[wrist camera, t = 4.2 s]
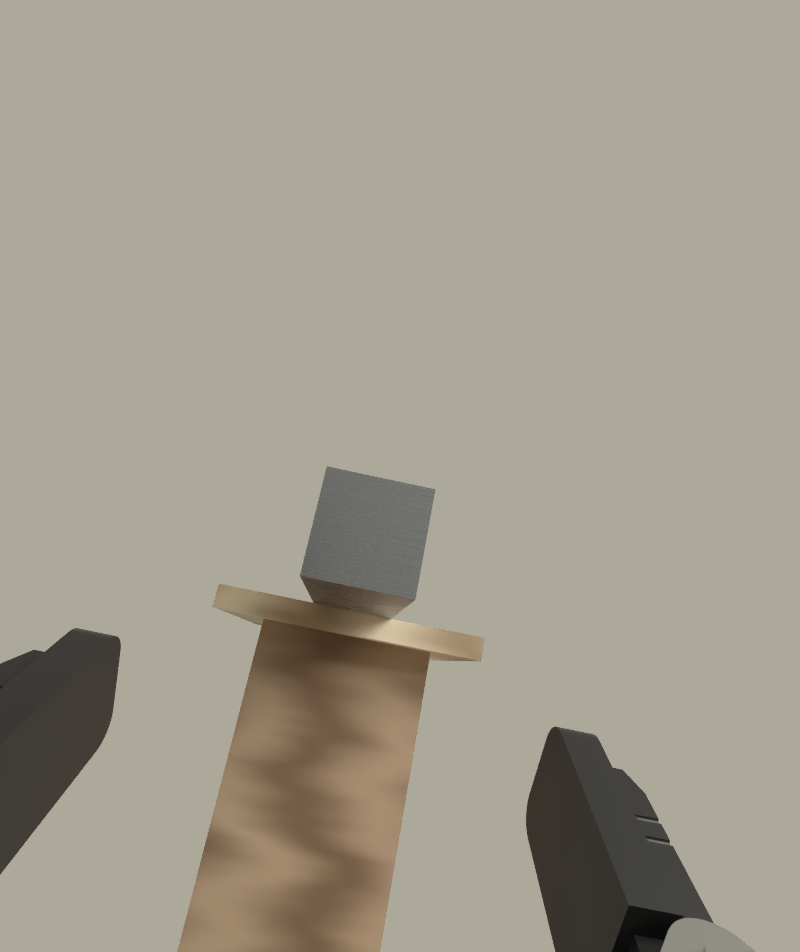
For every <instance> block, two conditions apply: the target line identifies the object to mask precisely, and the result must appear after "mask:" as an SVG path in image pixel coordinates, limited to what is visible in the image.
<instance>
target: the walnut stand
mask: <svg viewBox="0 0 800 952" xmlns="http://www.w3.org/2000/svg"><path fill="white" fill-rule="evenodd" d="M213 607H215V608H218V609H220V610H223V611H225V612H228V613H230V614H233V615H235V616H238V617H240V618H243V619H245V620H247V621H250V622H253V623H255V624H258V625H262V627H261V631H260V635H259V639H258V643H257V646H256V650H255V655H254V658H253V662H252V666H251V669H250V673H249V677H248V681H247V685H246V689H245V693H244V697H243V700H242V705H241V708H240V712H239V716H238V720H237V724H236V727H235V731H234V735H233V739H232V743H231V747H230V751H229V754H228V758H227V762H226V766H225V770H224V774H223V778H222V782H221V785H220V789H219V793H218V797H217V801H216V805H215V809H214V812H213V816H212V820H211V824H210V828H209V832H208V836H207V840H206V843H205V847H204V851H203V855H202V859H201V863H200V867H199V871H198V874H197V878H196V882H195V886H194V890H193V894H192V898H191V901H190V905H189V909H188V913H187V917H186V921H185V924H184V929H183V932H182V936H181V940H180V944H179V948H178V951H177V952H380V947H381V941H382V936H383V930H384V924H385V918H386V912H387V906H388V900H389V894H390V888H391V882H392V876H393V870H394V865H395V859H396V853H397V847H398V841H399V834H400V829H401V823H402V817H403V810H404V805H405V799H406V793H407V788H408V782H409V776H410V770H411V764H412V758H413V752H414V746H415V740H416V734H417V728H418V722H419V716H420V711H421V705H422V699H423V692H424V687H425V681H426V675H427V669H428V663H429V659H430V660H442V661H443V660H444V661H481V657H482V650H483V643H484V638H481V637H476V636H471V635H467V634H462V633H457V632H452V631H447V630H442V629H437V628H432V627H428V626H423V625H418V624H412V623H408V622H403V621H398V620H394V619H389V618H384V617H379V616H374V615H369V614H364V613H360V612H355V611H350V610H345V609H340V608H335V607H330V606H325V605H321V604H316V603H311V602H306V601H301V600H296V599H291V598H287V597H282V596H277V595H272V594H267V593H262V592H257V591H252V590H247V589H243V588H238V587H233V586H228V585H223V584H219V586H218V589H217V593H216V596H215V600H214V603H213Z"/></svg>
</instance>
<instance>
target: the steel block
mask: <svg viewBox="0 0 800 952" xmlns="http://www.w3.org/2000/svg"><path fill="white" fill-rule="evenodd" d="M434 493H435V489H430V488H425V487H421V486H416V485H411V484H407V483H402V482H397V481H393V480H388V479H383V478H378V477H374V476H369V475H364V474H359V473H355V472H350V471H346V470H341V469H336V468H332V467H327V468H326V472H325V476H324V480H323V484H322V488H321V493H320V497H319V501H318V505H317V509H316V513H315V517H314V521H313V525H312V529H311V533H310V538H309V541H308V545H307V550H306V554H305V558H304V562H303V566H302V570H301V574H300V577H301V579H302V580H303V583H304V585H305V587H306V589H307V590H308V592H309V594H310V596H311V598H312V600H313V602H314V603H316V604H321V605H325V606H330V607H335V608H340V609H345V610H350V611H355V612H360V613H364V614H369V615H374V616H379V617H384V618H389V619H392V618H393V617H394V616H395V615H397V614H398V613H399V612H400V611H402V610H403V609H404V608H405V607H407V606H408V605H409V604H410V603H412V602H413V601H414V600H415V598H416V592H417V587H418V581H419V575H420V570H421V564H422V559H423V554H424V548H425V543H426V537H427V532H428V526H429V521H430V515H431V510H432V504H433V499H434Z"/></svg>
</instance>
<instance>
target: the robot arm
mask: <svg viewBox="0 0 800 952" xmlns="http://www.w3.org/2000/svg"><path fill="white" fill-rule="evenodd" d="M120 648H121V645H120V639H119V638H118V637H116V636H112V635H107V634H103V633H98V632H93V631H88V630H83V629H78V628H75V629H73V630H71V631H70V632H68V633H67V634H66V635H65V636H63V637H62V638H61V639H60V640H59V641H57V642H56V643H55V644H54V645H53V646H51V647H50V648H49V649H48V650H47V651H45V652H42V651H37V650H32V651H30V652H28V653H25V654H23V655H21V656H18V657H16V658H13V659H11V660H8V661H6V662H3V663H1V664H0V874H1V873H2V871H3V870H4V869H5V868H6V866H7V865H8V864H9V863H10V861H11V860H12V859H13V857H14V856H15V855H16V854H17V852H18V851H19V850H20V848H21V847H22V846H23V845H24V843H25V842H26V841H27V839H28V838H29V837H30V835H31V834H32V833H33V832H34V830H35V829H36V828H37V826H38V825H39V824H40V823H41V821H42V820H43V819H44V817H45V816H46V815H47V813H48V812H49V811H50V810H51V809H52V807H53V806H54V805H55V803H56V802H57V801H58V800H59V798H60V797H61V796H62V794H63V793H64V792H65V791H66V789H67V788H68V787H69V785H70V784H71V783H72V782H73V780H74V779H75V778H76V776H77V775H78V774H79V772H80V771H81V770H82V769H83V767H84V766H85V764H87V762H88V761H89V760H90V758H91V757H92V756H93V755H94V753H95V752H96V751H97V749H98V748H99V746H100V744H101V743H102V741H103V739H104V737H105V735H106V732H107V730H108V727H109V724H110V721H111V717H112V713H113V706H114V698H115V689H116V681H117V674H118V666H119V657H120ZM526 827H527V835H528V840H529V844H530V848H531V852H532V857H533V861H534V865H535V869H536V873H537V877H538V881H539V886H540V890H541V893H542V898H543V902H544V906H545V910H546V915H547V919H548V923H549V927H550V931H551V935H552V939H553V943H554V947H555V951H556V952H755V951H754V950H753V949H752V948H750V947H749V946H748V945H747V944H745V942H743V941H742V940H741V939H739V938H738V937H737V936H735V935H734V934H732V933H731V932H729V931H727V930H726V929H724V928H722V927H720V926H718V925H716V924H714V923H713V921H712V919H711V917H710V915H709V914H708V912H707V910H706V908H705V906H704V904H703V902H702V900H701V899H700V897H699V895H698V893H697V891H696V889H695V887H694V885H693V883H692V882H691V880H690V878H689V876H688V874H687V872H686V870H685V868H684V866H683V865H682V863H681V861H680V859H679V857H678V855H677V853H676V851H675V849H674V847H673V846H670V840H669V838H668V836H667V834H666V832H665V830H664V828H663V827H662V825H661V824H659V823H658V817H657V815H656V814H655V812H654V810H653V808H652V806H651V804H650V802H649V800H648V798H647V796H646V794H645V793H644V792H643V791H642V790H641V789H640V788H639V787H638V786H637V785H636V784H635V783H634V782H633V780H632V779H631V778H630V777H629V776H628V775H627V774H626V773H625V772H624V771H623V770H621V769H616V768H612V766H611V764H610V762H609V760H608V758H607V756H606V754H605V752H604V749H603V747H602V745H601V743H600V741H599V740H598V738H597V737H596V736H595V735H593V734H589V733H584V732H578V731H574V730H569V729H564V728H559V727H553V728H552V729H551V730H550V732H549V734H548V736H547V739H546V742H545V746H544V749H543V752H542V756H541V759H540V762H539V765H538V769H537V772H536V775H535V779H534V782H533V785H532V788H531V791H530V795H529V799H528V804H527V813H526Z"/></svg>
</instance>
